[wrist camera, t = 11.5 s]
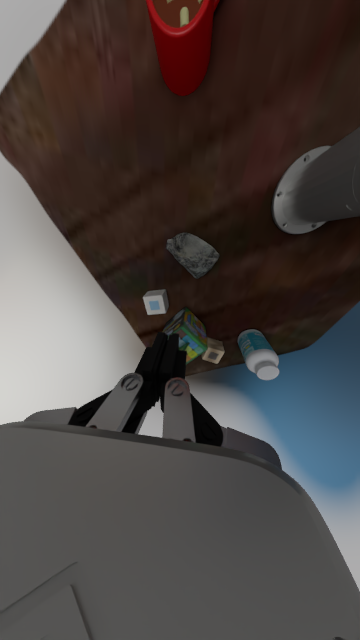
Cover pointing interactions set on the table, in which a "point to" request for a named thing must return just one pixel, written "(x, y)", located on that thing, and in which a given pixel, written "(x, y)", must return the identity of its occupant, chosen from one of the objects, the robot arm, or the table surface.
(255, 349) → the pill bottle
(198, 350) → the chalk box
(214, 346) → the marked block beech
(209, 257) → the stone
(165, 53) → the mug
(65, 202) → the table surface
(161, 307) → the marked block white
